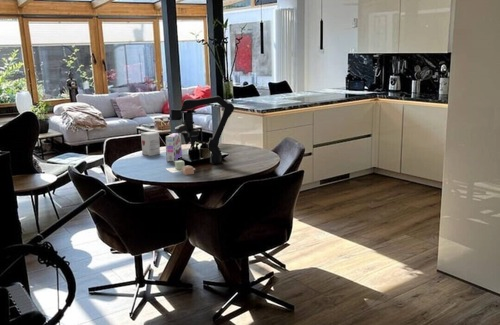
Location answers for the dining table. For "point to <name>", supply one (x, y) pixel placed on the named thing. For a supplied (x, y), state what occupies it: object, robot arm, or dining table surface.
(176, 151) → the candy box
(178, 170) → the letter
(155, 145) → the supplement box
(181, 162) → the green cube
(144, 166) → the dining table surface
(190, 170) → the terracotta block
